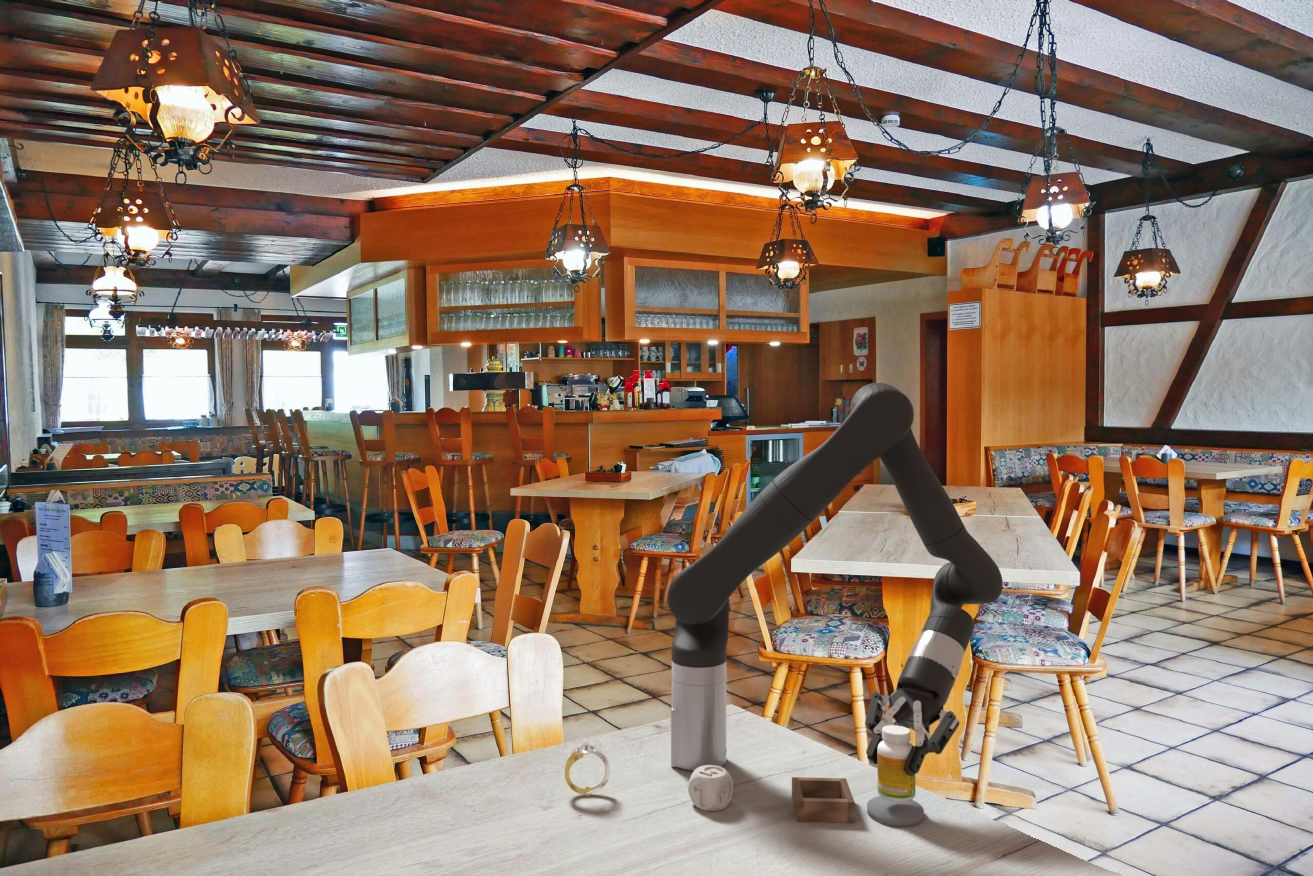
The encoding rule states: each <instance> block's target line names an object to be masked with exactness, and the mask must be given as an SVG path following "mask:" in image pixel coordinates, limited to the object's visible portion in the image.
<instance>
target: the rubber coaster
mask: <svg viewBox="0 0 1313 876" xmlns="http://www.w3.org/2000/svg"><path fill="white" fill-rule="evenodd" d="M866 805H867V807H866V808H867V809H866V811H867V812H866V813H867V815H868V816H869V818H871V819H872V820H873V821H876V822H877V823H880V824H882V825H886V826H890V827H898V828H908V827H914V826H917V825H919V824H921V823H922V822H923V821H924V819H925V817H924V816H925V810H924V807H923V806H922V805H921V804H920V803H919V802H917V801H915V800H914V799H912V800H911V801H907V802H893V801H889V800H886V799H884V798H882V797H881V796H880V795H878V796H875V797H873V798H870V799H869V800H868V802H867V803H866Z"/></svg>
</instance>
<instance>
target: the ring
mask: <svg viewBox="0 0 1313 876" xmlns="http://www.w3.org/2000/svg"><path fill="white" fill-rule="evenodd" d="M574 748H575V749H573V751H571V752H570V754H569V756H568V757H567V760H566V762H565V766H564V779H565V782H566V784H567V786H568V787H569V788H570V789H571V790H572V791H573V792H575V793H577V794H580V795H584V796H585V797H589V796H590V795H593V794H596V793H599V792H600V791H601V790H603V788H604V787H605V786H606V785H607V783H608V781H609V779H610V775H611V766H610V760H609V759H608V757H607V755H606V754H605V753H604V752H602V750H600V749H598V748H597V744H596V743H594V744H590V742H589V741H586V742H582V744H581V745H578V746H577V745H576V746H575V747H574ZM587 755H595V756H597V757H598V758H599V759H600V760H601V761H602V763H603V764H604V768H605V772H604V776H603V777H602V778H603V779H602V780H601V781H600V782H599V783H598V784H597V785H595V786H593V787H590V786H585V787H584V788H583V787H580V786H578V785H577V784H575V783H574V782H573V781H572V779H571V776H570V770H571V768H572V766H573V765H574V764H575V763H576V762H577V761H578V760H580V759H582V758H583V757H584V756H587Z"/></svg>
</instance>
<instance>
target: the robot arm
mask: <svg viewBox="0 0 1313 876" xmlns="http://www.w3.org/2000/svg"><path fill="white" fill-rule="evenodd" d="M914 417H915V411H914V406H913V404H912V402H911V400H910V398H909V397H908V395H906V394H904V393H903V392H902V391H900V390H899V389H898V388H896V387H894V386H893V385H891V384H889V383H883V382H873V383H869V384H866V385H864V386H862V387H861V388H860V389H858V390H857V391H855V394H854V395H853V397H852V399H851V401H850V405H849V414H848V416H847V417H846V418H845V419H844V421H843V422H842V423H840V425H839V426H838V427H837V428H836V430H835V431H834V432H833V433H832V434H831V435H830V436H829V437H828V438H827V439H826V440H825V441H824V442H823V443H822V444H820V445H819V446H818V447H817V448H816V449H814V450H812V451H811V452H809V453H808V454H806V455H805V456H803V457H801V458H799V459H798V460H797V461H795V462H793V464H791V465H789V466H788V467H787V468H785V469H784V470H782V472H779V474H778V475H777V476H775V478H773V480H771V481H770V482H769V483H768V484H767V485H766V486H765V488H763V489H762V490H761V492H759V493H758V494H757V495H756V496H755V498H754V499H753V500H752V501H751V502H750V503H749V504H748V505H747V506H746V508H745V509H743V511H742V512H741V513H740V514H739V516H738V517H737V518H736V519H735V521H734V522H733V523H732V525H731V526H730V528H728V529H727V531H726V533H725V534H724V535H723V536H722V537H721V538H720V540H719V541H718V542H716V544H714V545H713V546H712V547H711V548H710V549H709V550H708V551H707V552H705V553H704V554H703V555H702V556H701V557H700V558H698V559H697V560H696V561H694V562H693V563H691V564H689V565H687V566H686V567H684V568H682V570H681V571H680V572H678V573H677V574H676V575H675V576H674V577H673V578H672V580H671V582H670V583H669V587H668V590H667V597H666V599H667V600H666V601H667V606H668V609H669V612H670V614H672V616H673V617H674V618H675V626H674V627H675V629H674V634H673V639H672V642H671V706H670V707H671V708H670V767H672V768H680V769H682V770H686V771H692V772H694V770H695V769H697V768H698V767H700V766H704V765H716V766H720V767H723V766H725V765H726V763H727V752H728V751H727V649H728V642H729V634H730V633H729V631H730V630H729V629H730V627H729V626H730V624H729V623H730V621H729V620H730V619H729V618H730V597H731V596H732V595H733V594H734V592H735V591H736V590H737V589H738V587H739V586H741V584H742V583H743V582H744V581H746V579H747V578H748V577H749V576H750V575H751V574H753V573H754V571H756V570H758V569H759V568H760V567H761V566H762V565H764V564H765V563H767V562H768V561H769V560H771V559H772V558H773V557H775V556H776V555H777V554H778V553H780V552H781V551H782V550H783V549H784V548H786V547H787V546H788V545H789V544H791V542H793V541H794V540H796V538H797V537H799V536H800V535H801V534H802V533H803V532H804V531H805V530H806V529H807V528H809V526H810V525H811V524H812V523H813V522H814V521H816V519H817V518H818V517H819V516H820V515H821V514H822V513H823V512H824V511H825V510H826V509H827V508H828V507H829V506H830V504H831V503H832V502H834V501H835V500H836V499H837V497H838V496H839V495H840V494H841V493H842V492H843V491H844V490H845V489H846V488H847V486H848V485H849V484H850V483H851V482H852V481H853V480H854V479H855V478H856V477H857V476H858V475H859V474H860V473H862V472H863V470H865V469H866V468H867V467H868V466H870V465H871V464H873V462H875V461H876V460H877V459H880V461H881V462H882V464H883V465H884V468H885V469H886V470H887V472H888V474H889V476H890V478H891V480H892V482H893V484H894V487H895V488H896V490H897V493H898V495H899V497H900V499H901V501H902V504H903V505H904V508H905V510H906V512H907V514H908V516H909V518H910V521H911V522H912V525H913V526H914V528H915V531H916V532H917V534H918V536H919V538H920V540H921V541H922V543H923V545H924V547H925V549H926V551H927V552H928V553H929V554H930V555H931V556H933V557H934V558H937V559H938V558H939V559H942V560H945V561H947V562H946V563H945V564H944V565H942V566H941V567H940V568H939V569H938V571H937V572H936V574H935V576H934V579H933V584H932V589H931V591H932V592H931V601H930V609H929V614H928V616H927V618H926V620H925V623H924V624H923V625H924V626H923V628H922V630H921V632H920V634H919V636H918V638H917V639H916V641H915V642H914V644H913V646H912V648H911V651H910V652H909V654H908V657H907V658H906V662H905V664H904V666H903V668H902V670H901V673H900V674H899V677H898V679H897V684H896V688H895V690H894V691H893V692H891V694H889V695H881V694H880V692H878V691H874V692H872V694H871V697H870V698H871V699H870V702H869V706H868V708H867V709H868V710H867V713H866V718H865V722H864V725H865V727H866V728H867V729H868V730H869V732H870V733H871V735H872V737H871V740H870V741H869V744H868V745H867V747H866V750H865V751H866V752H865V753H866V758H867V760H869V762H870V763H871V764H873V765H877V748H878V744H879V743H880V742H881V741H883V738H882V728H883V727H884V726H888V725H898V726H903V727H906V728H908V729H910V730H912V731H914V744H915V745H913V746H912V748H911V750H910V753H909V755H908V757H907V760H906V762H905V765H904V768H903V769H904V771H905V772H906V774H907V775H909V776H914V774H915V775H916V774H918V773H919V771H920V769H921V767H922V765H923V763H924V759H925V757H926V756H927V755H928V754H930V753H931V754H932V753H934V754H935V755H941V754H942V752H943V751H944V749H945V748H946V746H947V744H948V743H949V741H950V740H951V739H952V737H953V735H954V734H955V732H956V731H957V729H958V728H959V726H960V725H961V724H960V720H959V719H958V717H957V716H956V714H955V713H954V712H953V711H952V710H951V711H950V710H949V711H946V710H944V706H945V705H946V704H947V702H948V699H949V697H950V694H951V693H952V692H951V691H952V690H953V686H955V685H954V684H955V683H956V680H957V677H958V676H959V673H960V670H961V668H962V664H963V660H964V656H965V653H966V651H967V648H968V646H969V643H970V640H971V639H972V636H973V634H974V630H975V620H974V618H973V616H972V615H971V614H970V613H969V612H967V611H966V610H965V609H963V606H965V605H985V604H986V605H987V604H991V603H994V602H996V601H997V600H998V599H999V597H1001V596H1002V595H1001V594H1002V592H1003V589H1004V588H1003V587H1004V586H1003V584H1004V583H1003V576H1002V574H1001V573H1002V572H1001V571H1000V568H999V567H998V565H997V563H996V562H995V560H994V559H993V558H992V556H991V555H990V554H989V553H988V552H987V551H986V550H985V549H984V548H983V547H982V546H981V544H980V543H979V542H978V541H977V540H976V539H975V538H974V537H973V536H972V535H971V534H970V533H969V531H968V530H967V529H966V526H965V524H964V522H963V520H962V518H961V516H960V515H959V513H958V511H957V508H956V507H955V505H954V503H953V501H952V500H951V497H950V496H949V495H948V493H947V492H946V490H945V488H944V486H943V485H942V484H941V482H940V480H939V478H938V477H937V476H936V474H935V472H934V470H932V468H931V466H930V464H929V463H928V461H927V460H926V458H925V455H924V454H923V452H922V450H921V448H920V446H919V445H918V441H917V439H916V437H915V435H914V432H913V429H912V425H913V422H914ZM889 705H890V708H889V709H887V708H888V706H889ZM885 711H886V712H885ZM884 712H885V713H884ZM937 721H938V722H939V724H938V725H937V727H936V728H935V729H934V730H933V733H932V734H931V725H933V724H935V723H936V722H937Z"/></svg>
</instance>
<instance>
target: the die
mask: <svg viewBox="0 0 1313 876" xmlns="http://www.w3.org/2000/svg"><path fill="white" fill-rule="evenodd" d="M687 786H688V787H687V792H688V795H689V798H690V799H689V800H691V803H692V804H693V805H694V806H695V807H696V808H698V809H699V810H702V811H705V812H706V811H707V812H716V811H721V810H723V809H725V808H726V807H727V806H728V805H729V804H730V803H731V802H730V801H731V799H732V796H733V793H734V792H733V791H734V781H733V778H732V776H731V774H730V773H729V771H727V769H725V768H724V767H723V766H722V767H720V766H716V765H704V766H700V767H698V768H697V769H695V770H694V771H692V774H691V775H690V778H689V781H688V785H687Z"/></svg>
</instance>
